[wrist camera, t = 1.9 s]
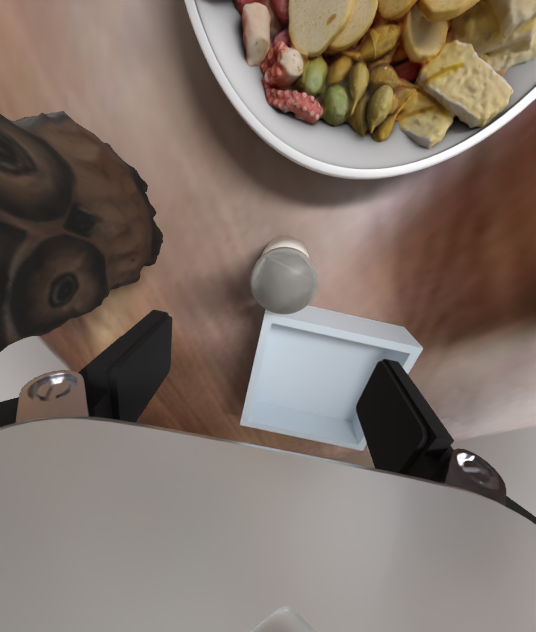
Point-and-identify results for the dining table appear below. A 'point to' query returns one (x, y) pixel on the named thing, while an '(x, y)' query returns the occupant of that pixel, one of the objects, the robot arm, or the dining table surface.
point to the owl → (65, 224)
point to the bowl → (371, 76)
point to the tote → (319, 373)
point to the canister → (284, 277)
